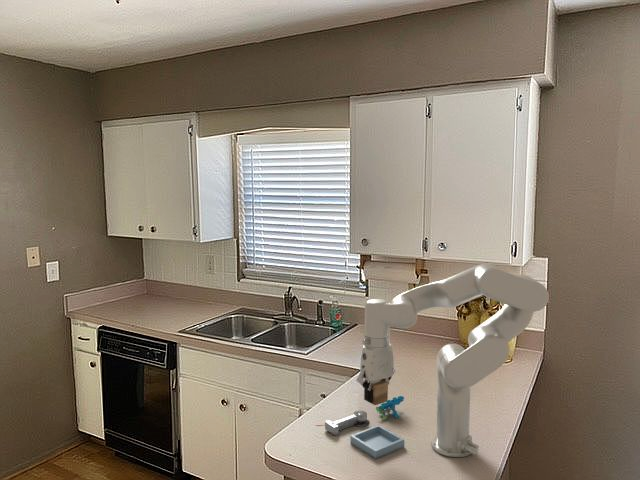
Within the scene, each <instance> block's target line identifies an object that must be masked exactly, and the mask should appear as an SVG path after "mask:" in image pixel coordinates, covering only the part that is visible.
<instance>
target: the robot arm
mask: <svg viewBox="0 0 640 480" xmlns="http://www.w3.org/2000/svg"><path fill="white" fill-rule="evenodd" d="M482 296H483V297H486V298H488V299H491V300H493V301H496V302H498V303H500V304H504V305H503V306H502V307H501V309H500V310H498V311H497V312H495V314H493V315H492V316H490V317H489V318H488V319H486V320H485V321H483V322H481V323H480V324H479V325H477V326H476V327H475V328H473V329H472V330H471V331H470V332H469V334H468V336H467V342H468V346H469V347H467V348H465V347H463V346H462V345H460V344H458V343H447V344H445V345H443V346H442V347H441V348H440V349H439V350H438V353H437V356H436V378H437V379H436V380H437V388H436V389H437V390H436V391H437V392H436V393H437V395H436V396H437V397H436V403H437V404H436V409H437V410H436V435H435V436H433V437H432V439H431V440H430V441H431V442H430V443H431V448H432V449H433V450H434V451H435V452H436V453H438V454H440V455H442V456H445V457H451V458H463V457H464V458H465V457H467V456H470V455H472V456H476V455H477V453H478V450H479V447H480V445H478V444H476V443H474V442H473V436H472V435H470V419H471V418H470V415H471V413H470V411H471V408H470V407H471V387H473V386H475V385H477V383H479V382H481V381H482V380H483V379H485V378H487V377H488V376H489V375H491V374H493V373H494V372H495V371H497V370H498V369H500V368H501V367H503V365H504V364H505V363H506V362H507V360H508V358H509V356H510V345H509V343H510V342H511V341H513V339H515V338H516V337H517V336H519V335H520V334H521V333H523V332H524V331H525V329H526V328H527V327H528V326H529V324H530V323H531V320H532V319H533V316H534V312H539V311H541V310H543V309H544V308H545V307H546V306H547V304H548V302H549V299H550V296H549V291H548V289H547V288H546V287H545V286H544V285H543V284H542V283H541V282H539V281H537V280H536V279H534V278H533V277H531V276H529V275H525V274H517V275H515V274H512V273H509V272H507V271H504V270H502V269H500V268H499V267H498V266H496V265H494V264H493V263H492V264H491V263H486V262H484V263H481V264H478V265H475V266H472V267H470V268H468V269H466V270H464V271H461V272H459V273H457V274H454V275H451V276H449V277H446V278H444V279H441V280H439V281H434V282H430V283H428V284H423V285H420V286H417V287H415V288H412V289H409V290H407V291H405V292H402V293H401V294H399V295H397V296H395V297H394V298H392V300H391V302H390V301H388V300H386V299H382V298H372V299H371V298H370V299H368V300H367V301H366V302H365V304H364V333H363V335H364V337H363V338H364V339H363V340H362V341H361V342H362V349H361V355H360V362H359V364H360V365H359V366H360V367H359V374H358V376H357V378H356V379H355V381H356V382H357V383H358V384H359V385H360V386H362V388H363V389H364V388H365V396H364V395H363V400H364V399H365V400H364V401H366V402H368V403H369V404H371V403H373V390H371V389H372V385H373V382H375V381H378V380H384V381H386V382H388V386H389V385H390V381H391V379H392V377H393V375H395V373H396V369H395V362H394V361H395V359H394V351H393V347H392V344H391V343H390V341H391V340H390V338H391V335H390V334H391V330H390V329H391V328H390V327H395V328H400V329H408V328H411V327H413V326H414V325H415V324H416V323H417V321H418V313H420V312H423V311H426V310H428V309H433V308H448V309H449V308H456V307H458V306H460V305H463V304H465V303H468V302H470V301H473V300H475V299H477V298H480V297H482ZM368 381H369V384H367V383H368Z"/></svg>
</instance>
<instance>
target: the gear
mask: <svg viewBox="0 0 640 480" xmlns="http://www.w3.org/2000/svg"><path fill="white" fill-rule="evenodd" d="M404 400H405V397H404V396H403V395H399V396H396V397H393V398H392V399H391V400H390V399H388V401H387V402H384V403H381V404H380V406H376V407H375V410H376V412H377V413H379V414H380V415H381V416H382V419H383V420H384V421H385V420H387V418H386V416H385V413H387V412H390V411H392V413H393V414H394V417H395V418H396V419H398V418H399V415H398V413H397V410H396V406H399V405H400V404H401V403H403V402H404Z"/></svg>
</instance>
